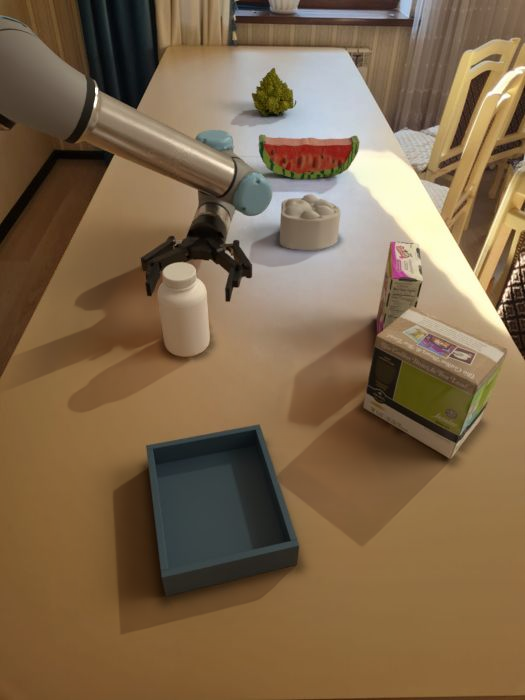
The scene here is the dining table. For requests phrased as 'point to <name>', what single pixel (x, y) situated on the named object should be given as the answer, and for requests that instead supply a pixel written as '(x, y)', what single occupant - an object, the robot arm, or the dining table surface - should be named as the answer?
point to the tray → (218, 509)
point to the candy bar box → (399, 283)
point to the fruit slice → (308, 156)
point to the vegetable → (273, 95)
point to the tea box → (432, 379)
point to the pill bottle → (183, 310)
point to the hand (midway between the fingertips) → (187, 292)
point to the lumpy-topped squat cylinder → (309, 223)
